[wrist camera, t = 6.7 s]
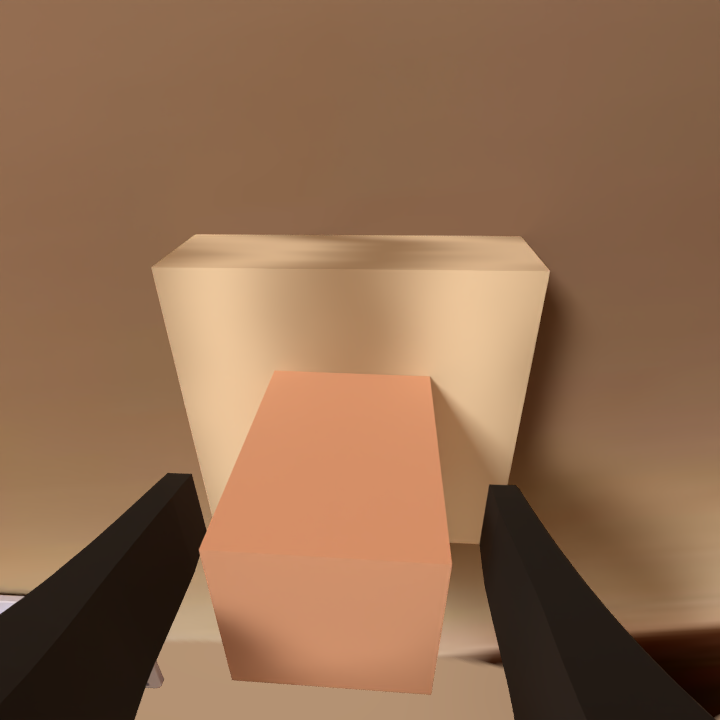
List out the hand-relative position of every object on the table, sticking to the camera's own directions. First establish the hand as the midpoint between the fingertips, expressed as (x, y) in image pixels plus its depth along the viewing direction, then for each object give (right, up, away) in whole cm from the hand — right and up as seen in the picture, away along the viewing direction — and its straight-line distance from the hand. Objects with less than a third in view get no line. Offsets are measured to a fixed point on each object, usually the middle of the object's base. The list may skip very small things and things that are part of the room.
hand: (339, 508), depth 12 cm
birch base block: (0, +3, +6) cm, 7 cm away
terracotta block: (0, +1, +3) cm, 3 cm away
